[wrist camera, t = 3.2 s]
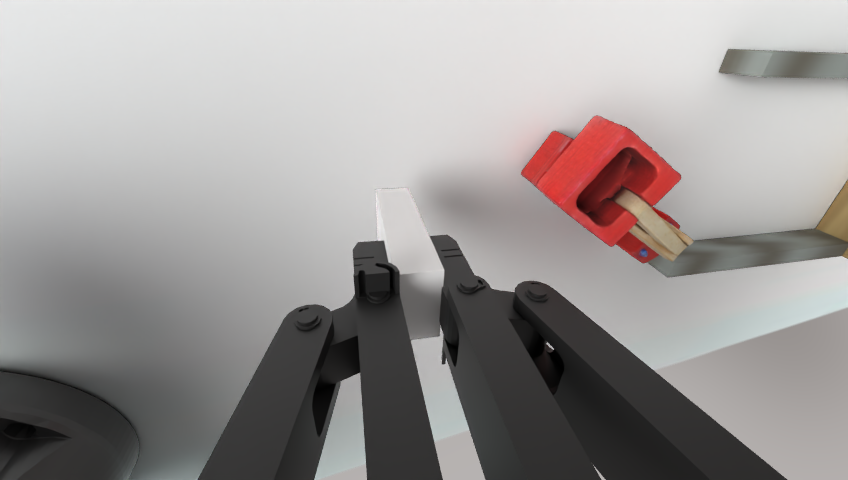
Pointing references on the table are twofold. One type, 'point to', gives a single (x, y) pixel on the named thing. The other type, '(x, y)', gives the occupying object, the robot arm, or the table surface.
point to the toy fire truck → (610, 187)
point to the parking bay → (834, 236)
